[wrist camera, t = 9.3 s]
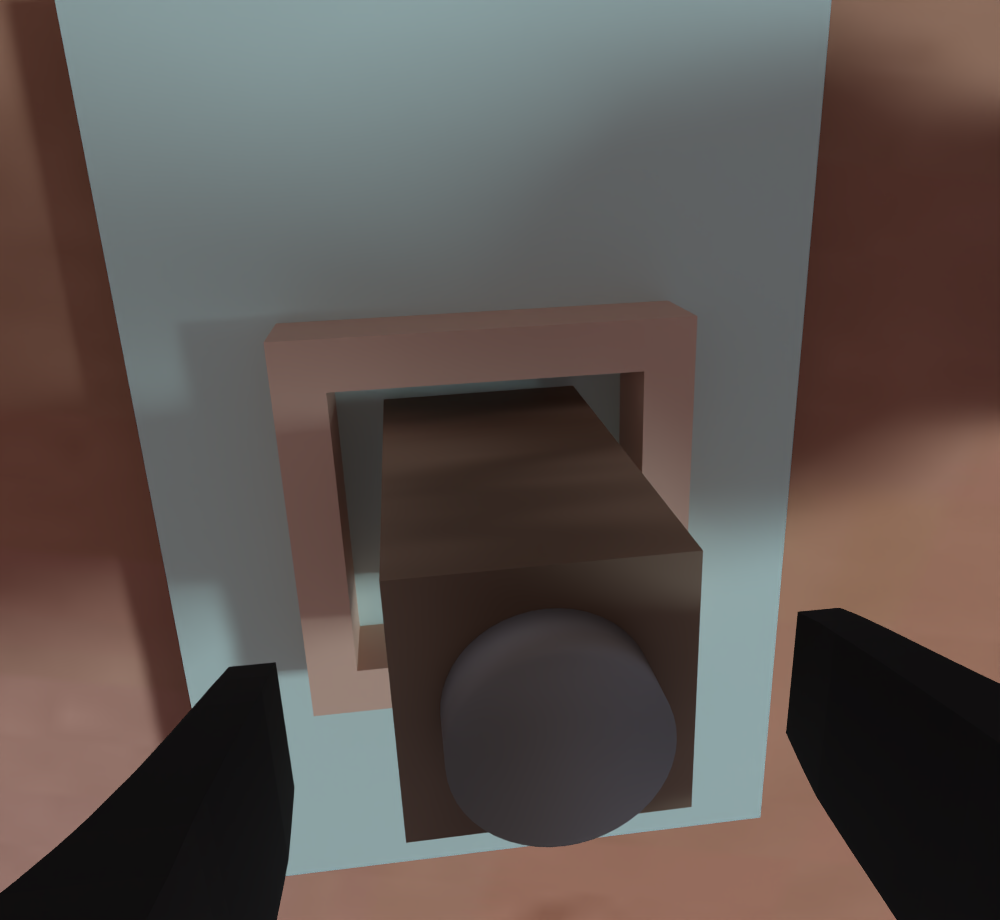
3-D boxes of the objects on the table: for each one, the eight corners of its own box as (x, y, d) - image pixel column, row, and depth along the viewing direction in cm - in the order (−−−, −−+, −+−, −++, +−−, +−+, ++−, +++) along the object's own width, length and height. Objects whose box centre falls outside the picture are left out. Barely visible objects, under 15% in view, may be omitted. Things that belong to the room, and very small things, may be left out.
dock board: (805, -18, 17) (886, -52, 14) (742, 786, 24) (789, 870, 21) (76, -4, 16) (6, -39, 13) (233, 847, 22) (211, 945, 20)
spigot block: (573, 385, 18) (733, 589, 10) (574, 554, 19) (716, 862, 11) (383, 399, 18) (378, 624, 9) (399, 571, 19) (407, 903, 11)
